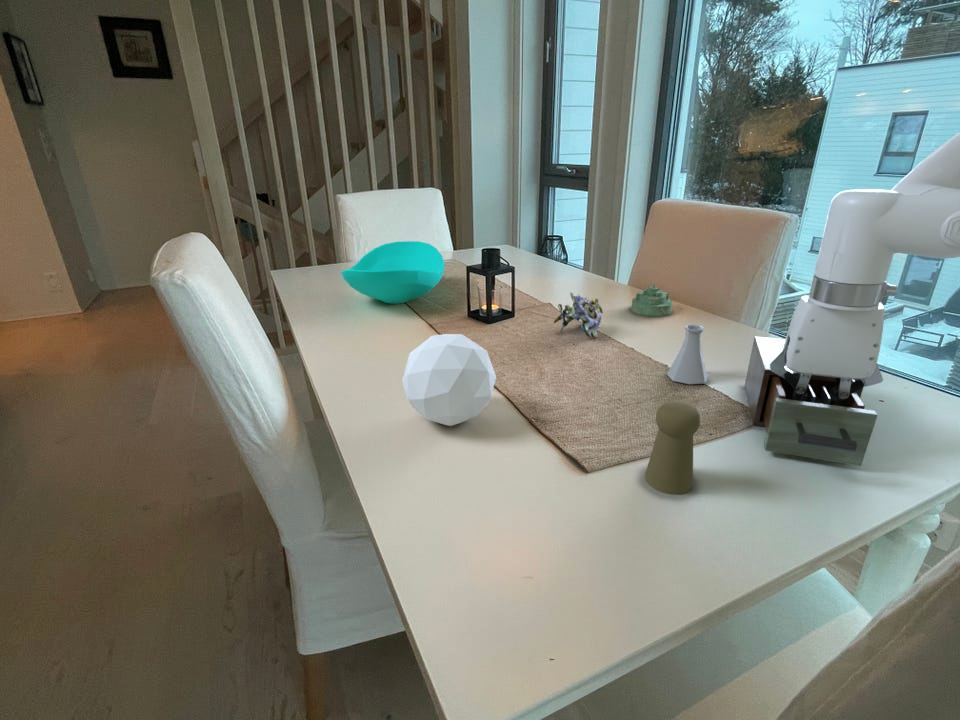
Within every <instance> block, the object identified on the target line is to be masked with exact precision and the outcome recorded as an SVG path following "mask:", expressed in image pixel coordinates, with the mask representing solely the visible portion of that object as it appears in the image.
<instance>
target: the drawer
mask: <svg viewBox="0 0 960 720" xmlns="http://www.w3.org/2000/svg"><path fill="white" fill-rule="evenodd" d="M808 384H809V385H810V386H811V388H812V390H813V392H814V393H821V389H822V386H825V388H826V390H827V392H828V391H830V389H832V388H833V387H834V382H828V381H819V380H811V379H810V381H809V383H808ZM793 391H794V389H793V387H792V386H791V385H790V384H789V383H788V382H787V381H786V380H785V379H784V378H783V377H781V376H776V375H770V376H769V380H768V385H767V389H766V394H765V398H764V403H763V407H762V415H763V419H764V423H765V427H764V428H765V430H766V436H765V441H764V444H763V448H764V451H765V452H772V453H777V454H784V455H790V456H797V457H804V458H808V459H814V460H821V461H827V462H832V463H833V462H834V463H840V464H847V465H852V466H853V465H854V466H860V467H862V464H863V461H864V459H865V456H866V452H867V449H868V446H869V444H870V440H871V437H872V435H873V431H874V429H875V425H876V422H877V419H878V413H877V411H876V410H873V409H867V408H866V406H865V404H864V402H863V401H862V399H861V397H860V398H859V396H858V395H857V393H856V392H854V393H852V394H850V395H849V397H848V398H847V399H844V401H843V404H842V406H835V405H827V404H820V403H812V402H804V401H796V400H792V395H793Z"/></svg>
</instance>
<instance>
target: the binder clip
mask: <svg viewBox="0 0 960 720" xmlns="http://www.w3.org/2000/svg"><path fill="white" fill-rule="evenodd" d="M807 394H808V401H807V402H812V403H820V404H827V405H830V401H831V398H830V396H829V394H828V392H827V390H826V388H825V386H822V389H821V393H814V392H813V390H812V388H811V386H810V385H809V384H808V386H807Z"/></svg>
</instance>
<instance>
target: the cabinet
mask: <svg viewBox="0 0 960 720" xmlns="http://www.w3.org/2000/svg"><path fill="white" fill-rule="evenodd" d="M785 339H786V338H777V337H776V338H775V337H765V336H757V335H755V336H754V337H753V342H752V347H751V352H750V357H749V362H748V367H747V371H746V377H745V382H744V390H745V394H746V395H745V396H746V399H747V403H748V409H749V413H750V419H751V424H752V426H755V427H763V428H766V427H765V423H764V419H763V415H762V407H763V403H764V398H765V394H766V389H767V385H768V380H769V376H770V375H776V376H779V375H777V374H775V373H774V372H772V371H771V369H770V364H771V362H772V361H773V360H774V359H775V358H776V357H777V356H778V355H779V354H780V353H781V352H782V351H783V346H784V343H785ZM785 367H786V368H787V366H786V365H785ZM794 373H796V372H794ZM810 379H811V380H819V381H828V382H834V381H835V377H829V376H820V375H811V378H810ZM863 390H864V387H863V388H862V389H860V390H858V391H856V393H857V395H858V396H859V398H860V399H861V397H862V394H863Z"/></svg>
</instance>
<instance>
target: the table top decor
mask: <svg viewBox="0 0 960 720" xmlns="http://www.w3.org/2000/svg"><path fill="white" fill-rule="evenodd" d="M445 267H446V265H445V262H444V258H443V255H442V254H441V252H440V251H439V250H438V248H437V247H435V246H434V245H432V244H430V243H429V242H423V241H418V240H417V241H415V240H404V241H403V240H402V241H392V242H388V243H384V244H381V245H379V246H377V247H374V248H373V249H371V250H370V251H368V252H367V253H365V254H364V255H363V256H362V257H361V258H360V259H359V260H358V261H357V262H356V263H355V264H354V265H352V266H351V267H349V268H348V269H343V270H341V272H340V274H341V276H342V279H343V280H344V281H345V282H346V283H347V285H348V286H349V287H350V288H352V289H353V290H355V291H357V292H358V293H359V294H362V295H365V296H367V297H370V298H371V299H374V300H378V301H379V302H383V303H385V304H404V303H407V302H408V301H412V300H415V299H418V298H420V297H422V296H425V295H426V294H428V293H429V292H431V290H433V289H434V288H435V287H436V286H437V285H438V284H439V282H440V281H441V279H442V278H443V275H444V270H445Z"/></svg>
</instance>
